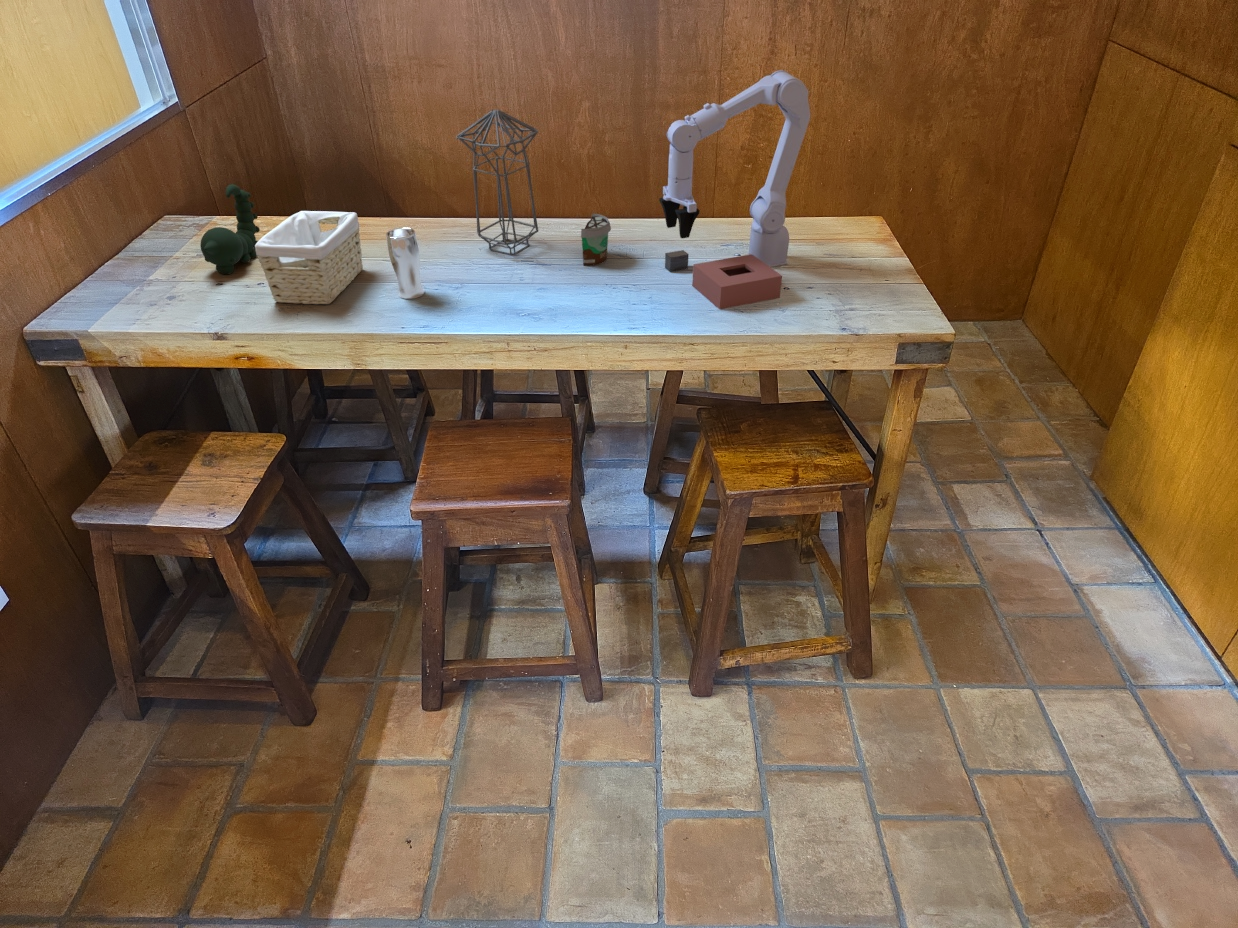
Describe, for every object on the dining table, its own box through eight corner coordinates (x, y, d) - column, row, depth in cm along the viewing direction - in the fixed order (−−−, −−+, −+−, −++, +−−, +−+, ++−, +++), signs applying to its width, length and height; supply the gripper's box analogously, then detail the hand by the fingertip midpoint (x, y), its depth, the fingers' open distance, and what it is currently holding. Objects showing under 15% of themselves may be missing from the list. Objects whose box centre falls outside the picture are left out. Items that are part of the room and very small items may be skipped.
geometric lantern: (549, 244, 212) (540, 107, 190) (513, 265, 202) (499, 123, 180) (504, 232, 219) (490, 98, 197) (466, 252, 209) (448, 113, 187)
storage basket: (310, 265, 202) (296, 208, 193) (371, 267, 201) (359, 210, 192) (267, 306, 183) (249, 245, 174) (334, 309, 182) (319, 247, 173)
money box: (749, 275, 195) (751, 254, 192) (779, 297, 185) (782, 275, 182) (692, 285, 191) (693, 264, 187) (719, 309, 180) (721, 287, 177)
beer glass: (400, 302, 184) (389, 240, 175) (393, 291, 189) (381, 230, 180) (429, 296, 187) (419, 235, 177) (421, 285, 191) (411, 225, 182)
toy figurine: (241, 252, 213) (195, 282, 192) (223, 179, 203) (171, 203, 182) (275, 252, 213) (232, 283, 192) (258, 180, 203) (211, 203, 182)
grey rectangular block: (682, 265, 201) (683, 250, 199) (687, 269, 199) (688, 254, 196) (664, 268, 200) (665, 253, 197) (669, 272, 197) (670, 257, 195)
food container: (605, 269, 199) (605, 231, 193) (582, 268, 200) (580, 229, 194) (615, 251, 208) (615, 214, 202) (593, 249, 209) (592, 212, 203)
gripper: (652, 169, 189) (651, 224, 198) (678, 187, 179) (675, 244, 187) (678, 166, 191) (676, 220, 200) (706, 183, 181) (702, 240, 189)
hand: (677, 232), depth 193 cm, fingers open, 7 cm apart
